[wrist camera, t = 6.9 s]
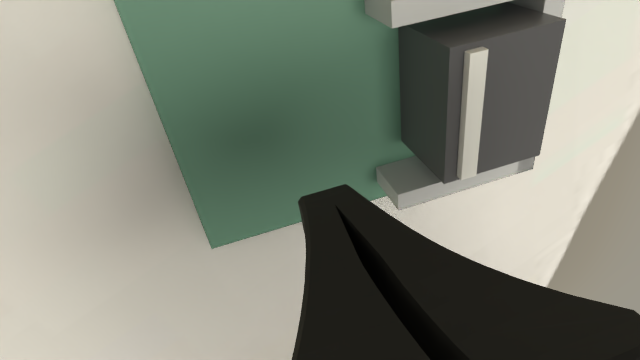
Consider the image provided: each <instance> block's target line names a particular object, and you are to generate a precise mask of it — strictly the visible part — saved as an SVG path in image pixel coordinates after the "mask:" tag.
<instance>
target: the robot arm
mask: <svg viewBox="0 0 640 360" xmlns="http://www.w3.org/2000/svg"><path fill="white" fill-rule="evenodd" d="M298 205H299V210H300V214H301V219H302V224H303V228H304V233H305V239H306V267H305V284H304V294H303V302H302V310H301V316H300V322H299V327H298V333H297V338H296V343H295V348H294V352H293V357H292V360H640V315H639V314H638V313H637V312H635V311H634V310H630V309H627V308H622V307H618V306H614V305H610V304H606V303H602V302H598V301H593V300H589V299H585V298H581V297H577V296H573V295H570V294H566V293H562V292H559V291H556V290H553V289H550V288H546V287H543V286H540V285H536V284H533V283H530V282H527V281H524V280H521V279H518V278H516V277H513V276H510V275H508V274H505V273H502V272H500V271H497V270H494V269H492V268H489V267H487V266H484V265H482V264H479V263H477V262H475V261H472V260H470V259H468V258H466V257H464V256H461V255H459V254H457V253H455V252H453V251H451V250H449V249H446V248H444V247H443V246H441V245H439V244H437V243H435V242H433V241H431V240H430V239H428V238H426V237H424V236H423V235H421V234H419V233H417V232H416V231H414V230H412V229H411V228H409V227H407V226H406V225H404V224H403V223H401V222H400V221H398V220H397V219H395V218H394V217H392V216H390V215H389V214H387V213H386V212H384V211H383V210H382V209H380V208H379V207H377V206H376V205H374V204H373V203H372V202H370V201H369V200H368V199H366V198H365V197H363V196H362V195H361V194H359V193H358V192H357V191H355V190H354V189H353V188H351V187H350V186H348V185H347V184H343V185H340V186H336V187H333V188H330V189H326V190H323V191H319V192H316V193H312V194H309V195H305V196H302V197H301V198H300V199H299V201H298Z"/></svg>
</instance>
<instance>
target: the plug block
mask: <svg viewBox="0 0 640 360" xmlns="http://www.w3.org/2000/svg"><path fill="white" fill-rule="evenodd" d="M565 22H566V19H563V18H560V17H557V16H553V15H550V14H546V13H543V12H539V11H536V10H533V9H529V8H526V7H522V6H519V5H515V4H512V3H509V2H504V3H499V4H495V5H491V6H486V7H482V8H478V9H474V10H469V11H465V12H461V13H456V14H452V15H448V16H444V17H439V18H435V19H431V20H427V21H422V22H418V23H414V24H409V25H405V26H401V27H398V37H399V74H400V110H401V141H402V142H403V143H404V144H405V145H406V146H407V147H408V148H409V149H410V150H411V151H412V152H413V153H414V154H415V155H416V156H417V157H418V158H419V159H420V160H421V161H422V162H423V163H424V164H425V165H426V166H427V167H428V168H429V169H430V170H431V171H432V172H433V173H434V174H435V176H436V177H437V178H438V179H439V180H440V181H441V182H442V183H443V184H446V183H450V182H453V181H456V180H459V179H460V180H464V179H467V178H471V177H474V176H476V174H479V173H482V172H486V171H489V170H492V169H495V168H499V167H502V166H505V165H509V164H512V163H515V162H518V161H522V160H525V159H528V158H532V157H535V156H538V155H540V150H541V145H542V140H543V135H544V129H545V124H546V119H547V114H548V109H549V104H550V99H551V94H552V89H553V84H554V78H555V73H556V68H557V63H558V58H559V53H560V48H561V43H562V38H563V33H564V27H565Z"/></svg>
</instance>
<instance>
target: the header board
mask: <svg viewBox="0 0 640 360" xmlns="http://www.w3.org/2000/svg"><path fill="white" fill-rule="evenodd" d="M114 2H115V5H116V7H117V10H118V12H119V15H120V17H121V20H122V22H123V25H124V27H125V30H126V33H127V35H128V38H129V40H130V43H131V45H132V48H133V50H134V53H135V55H136V58H137V60H138V63H139V65H140V68H141V71H142V73H143V76H144V78H145V81H146V83H147V86H148V88H149V91H150V93H151V96H152V98H153V101H154V103H155V106H156V109H157V111H158V114H159V116H160V119H161V121H162V124H163V126H164V129H165V131H166V134H167V136H168V139H169V141H170V144H171V147H172V149H173V152H174V154H175V157H176V159H177V162H178V164H179V167H180V169H181V172H182V174H183V177H184V180H185V182H186V185H187V187H188V190H189V192H190V195H191V197H192V200H193V202H194V205H195V207H196V210H197V212H198V215H199V218H200V220H201V223H202V225H203V228H204V230H205V233H206V235H207V238H208V240H209V243H210V245H211V248H212V249H213V248H216V247H220V246H223V245H226V244H229V243H233V242H236V241H239V240H243V239H246V238H249V237H253V236H256V235H259V234H262V233H266V232H269V231H272V230H276V229H279V228H282V227H286V226H289V225H292V224H296V223H299V222H302V219H301V214H300V210H299V205H298V201H299V199H300V198H301V197H302V196H305V195H309V194H312V193H316V192H319V191H323V190H326V189H330V188H333V187H336V186H340V185H343V184H347V185H348V186H350V187H351V188H353V189H354V190H355V191H357V192H358V193H359V194H361V195H362V196H363V197H365V198H366V199H368V200H369V201H372V200H375V199H378V198H381V197H385V196H388V197H389V198H390V200H391V201H392V202H393V204H394V205H395V206H396V208H397V209H398V210H402V209H405V208H408V207H411V206H415V205H418V204H421V203H424V202H428V201H431V200H434V199H437V198H440V197H444V196H447V195H450V194H453V193H457V192H460V191H463V190H466V189H469V188H473V187H476V186H479V185H482V184H486V183H489V182H492V181H495V180H498V179H502V178H505V177H508V176H511V175H515V174H518V173H521V172H524V171H527V170H531V169H533V166H534V160H535V157H532V158H528V159H525V160H522V161H518V162H515V163H512V164H509V165H505V166H502V167H499V168H495V169H492V170H489V171H486V172H482V173H479V174H476V176H474V177H471V178H467V179H464V180H460V179H459V180H456V181H453V182H450V183H446V184H443V183H442V182H441V181H440V180H439V179H438V178H437V177H436V176H435V174H434V173H433V172H432V171H431V170H430V169H429V168H428V167H427V166H426V165H425V164H424V163H423V162H422V161H421V160H420V159H419V158H418V157H417V156H416V155H415V154H414V153H413V152H412V151H411V150H410V149H409V148H408V147H407V146H406V145H405V144H404V143H403V142H402V141H401V110H400V74H399V37H398V27H401V26H405V25H409V24H414V23H418V22H422V21H427V20H431V19H435V18H439V17H444V16H448V15H452V14H456V13H461V12H465V11H469V10H474V9H478V8H482V7H486V6H491V5H495V4H499V3H504V2H509V3H512V4H515V5H519V6H522V7H526V8H529V9H533V10H536V11H539V12H543V13H546V14H550V15H553V16H557V17H560V18H562V13H563V8H564V2H565V0H114Z"/></svg>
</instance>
